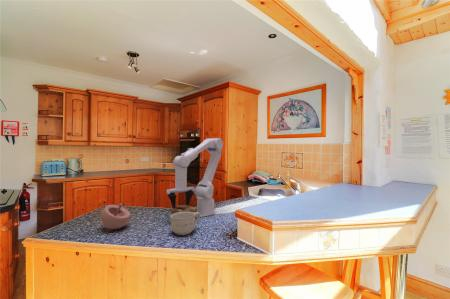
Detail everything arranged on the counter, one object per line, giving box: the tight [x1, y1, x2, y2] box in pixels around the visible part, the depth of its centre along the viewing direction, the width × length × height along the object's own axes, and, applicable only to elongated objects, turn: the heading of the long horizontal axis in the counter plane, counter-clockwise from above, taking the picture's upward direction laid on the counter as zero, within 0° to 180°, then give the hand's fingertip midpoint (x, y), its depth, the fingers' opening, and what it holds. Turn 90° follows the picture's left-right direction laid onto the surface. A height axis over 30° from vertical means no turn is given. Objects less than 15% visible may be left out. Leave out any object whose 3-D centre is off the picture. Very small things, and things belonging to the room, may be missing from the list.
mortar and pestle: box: [100, 202, 132, 230], centre depth 94 cm, size 12×12×12 cm
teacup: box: [169, 211, 202, 236], centre depth 91 cm, size 14×11×8 cm
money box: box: [170, 204, 197, 221], centre depth 105 cm, size 9×10×6 cm
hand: (180, 206), depth 104 cm, fingers open, 7 cm apart
